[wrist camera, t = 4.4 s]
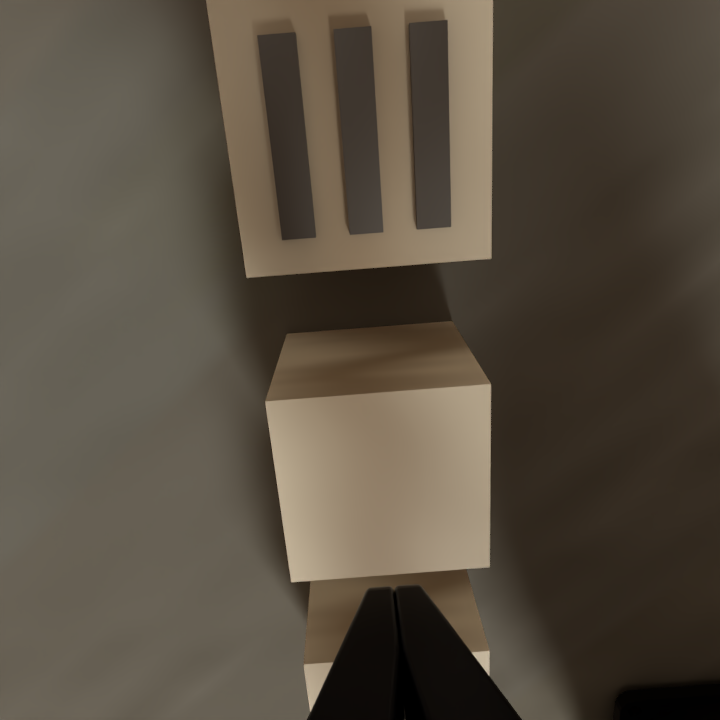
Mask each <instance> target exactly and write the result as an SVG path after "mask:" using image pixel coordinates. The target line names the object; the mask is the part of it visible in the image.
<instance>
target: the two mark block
mask: <svg viewBox="0 0 720 720" xmlns="http://www.w3.org/2000/svg"><path fill="white" fill-rule="evenodd" d="M409 584H419V585H421V586H422V587H423V588H424V590H425V591H426V592H427V594H428V595H429V596H430V598H431V599H432V600H433V602H434V603H435V604H436V606H437V607H438V608H439V610H440V611H441V612H442V614H443V615H444V616H445V618H446V619H447V620H448V622H449V623H450V624H451V626H452V627H453V628H454V630H455V631H456V632H457V634H458V635H459V636H460V638H461V639H462V640H463V642H464V643H465V644H466V646H467V647H468V648H469V650H470V651H471V652H472V654H473V655H474V656H475V658H476V659H477V660H478V662H479V663H480V664H481V666H482V667H483V668H484V670H485V671H486V672H487V674H488V675H489V654H490V651H489V647H488V644H487V640H486V637H485V633H484V630H483V626H482V623H481V619H480V616H479V612H478V609H477V605H476V602H475V598H474V595H473V591H472V588H471V584H470V581H469V577H468V574H467V570H466V569H460V570H447V571H434V572H421V573H408V574H394V575H381V576H368V577H355V578H342V579H328V580H315V581H310V593H309V605H308V617H307V629H306V642H305V654H304V671H305V678H306V685H307V692H308V699H309V706H310V712H311V710H312V708H313V705H314V703H315V701H316V699H317V697H318V695H319V692H320V690H321V688H322V686H323V684H324V681H325V679H326V677H327V675H328V673H329V670H330V668H331V666H332V664H333V662H334V659H335V657H336V655H337V653H338V651H339V648H340V646H341V644H342V642H343V640H344V637H345V635H346V633H347V631H348V629H349V627H350V624H351V622H352V620H353V618H354V616H355V613H356V611H357V609H358V607H359V605H360V602H361V600H362V598H363V596H364V594H365V592H366V590H367V589H368V588H370V587H383V586H391V587H392V588H393V589H395V587H396V586H398V585H409Z"/></svg>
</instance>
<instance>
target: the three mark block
mask: <svg viewBox="0 0 720 720" xmlns="http://www.w3.org/2000/svg"><path fill="white" fill-rule="evenodd" d="M206 4H207V11H208V17H209V24H210V31H211V38H212V45H213V52H214V58H215V65H216V72H217V79H218V86H219V93H220V100H221V106H222V113H223V120H224V127H225V134H226V141H227V147H228V154H229V161H230V168H231V175H232V182H233V188H234V195H235V202H236V209H237V216H238V223H239V229H240V236H241V243H242V250H243V257H244V264H245V271H246V277H247V278H252V277H264V276H277V275H290V274H303V273H315V272H328V271H341V270H354V269H366V268H379V267H392V266H405V265H418V264H430V263H443V262H456V261H469V260H481V259H491V247H492V86H493V0H206Z"/></svg>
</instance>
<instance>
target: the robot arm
mask: <svg viewBox="0 0 720 720" xmlns="http://www.w3.org/2000/svg"><path fill="white" fill-rule="evenodd" d="M307 720H522V719H521V718H520V716H519V715H518V714H517V712H516V711H515V710H514V708H513V707H512V706H511V704H510V703H509V702H508V700H507V699H506V698H505V696H504V695H503V694H502V692H501V691H500V690H499V688H498V687H497V686H496V684H495V683H494V682H493V680H492V679H491V678H490V676H489V675H488V674H487V672H486V671H485V670H484V668H483V667H482V666H481V664H480V663H479V662H478V660H477V659H476V658H475V656H474V655H473V654H472V652H471V651H470V650H469V648H468V647H467V646H466V644H465V643H464V642H463V640H462V639H461V638H460V636H459V635H458V634H457V632H456V631H455V630H454V628H453V627H452V626H451V624H450V623H449V622H448V620H447V619H446V618H445V616H444V615H443V614H442V612H441V611H440V610H439V608H438V607H437V606H436V604H435V603H434V602H433V600H432V599H431V598H430V596H429V595H428V594H427V592H426V591H425V590H424V588H423V587H422V586H421V585H419V584H409V585H398V586H396V587H395V589H393V588H392V587H391V586H383V587H370V588H368V589H367V590H366V592H365V594H364V596H363V598H362V600H361V602H360V605H359V607H358V609H357V611H356V613H355V616H354V618H353V620H352V622H351V624H350V627H349V629H348V631H347V633H346V635H345V637H344V640H343V642H342V644H341V646H340V648H339V651H338V653H337V655H336V657H335V659H334V662H333V664H332V666H331V668H330V670H329V673H328V675H327V677H326V679H325V681H324V684H323V686H322V688H321V690H320V692H319V695H318V697H317V699H316V701H315V703H314V705H313V708H312V710H311V712H310V714H309V716H308V719H307ZM613 720H720V684H714V685H700V686H687V687H673V688H660V689H647V690H633V691H627V692H624V693H622V694H620V695H619V696H618V697H617V698H616V701H615V707H614V716H613Z"/></svg>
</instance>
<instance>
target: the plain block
mask: <svg viewBox="0 0 720 720" xmlns="http://www.w3.org/2000/svg"><path fill="white" fill-rule="evenodd" d="M265 404H266V411H267V418H268V425H269V432H270V439H271V446H272V453H273V460H274V466H275V473H276V480H277V487H278V494H279V501H280V508H281V515H282V522H283V529H284V535H285V542H286V549H287V556H288V563H289V570H290V577H291V582H302V581H315V580H328V579H342V578H355V577H368V576H381V575H394V574H408V573H421V572H434V571H447V570H460V569H473V568H487V567H490V466H491V383H490V381H489V380H488V378H487V377H486V375H485V373H484V372H483V370H482V369H481V367H480V365H479V364H478V362H477V360H476V359H475V357H474V356H473V354H472V352H471V351H470V349H469V347H468V346H467V344H466V343H465V341H464V339H463V338H462V336H461V335H460V333H459V331H458V330H457V328H456V326H455V325H454V323H453V322H452V321H446V322H433V323H420V324H407V325H394V326H381V327H368V328H355V329H342V330H329V331H316V332H303V333H290V334H287V335H286V338H285V341H284V344H283V347H282V350H281V353H280V356H279V360H278V363H277V366H276V369H275V372H274V375H273V378H272V381H271V385H270V388H269V391H268V394H267V397H266V400H265Z"/></svg>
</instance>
